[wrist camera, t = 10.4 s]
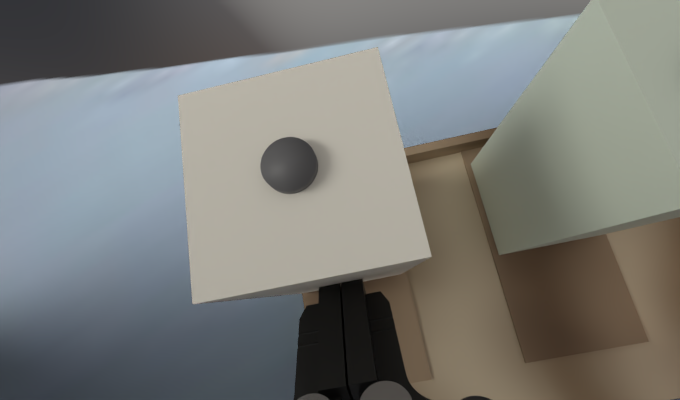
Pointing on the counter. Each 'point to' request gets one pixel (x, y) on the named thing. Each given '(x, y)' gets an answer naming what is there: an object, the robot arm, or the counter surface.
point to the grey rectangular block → (297, 182)
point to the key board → (530, 301)
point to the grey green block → (590, 133)
